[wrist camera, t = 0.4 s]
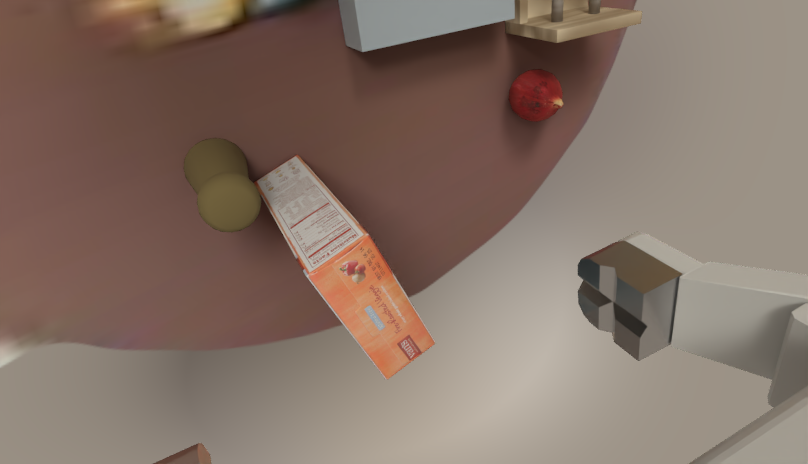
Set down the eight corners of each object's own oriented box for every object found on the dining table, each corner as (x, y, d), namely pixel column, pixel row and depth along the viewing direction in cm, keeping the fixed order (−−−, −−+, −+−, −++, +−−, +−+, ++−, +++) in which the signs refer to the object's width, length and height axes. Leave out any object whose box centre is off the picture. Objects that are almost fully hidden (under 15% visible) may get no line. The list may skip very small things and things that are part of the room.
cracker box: (359, 242, 63) (440, 345, 46) (317, 270, 62) (384, 386, 45) (299, 149, 55) (372, 233, 38) (251, 180, 54) (303, 280, 37)
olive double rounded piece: (181, 138, 49) (191, 177, 41) (247, 138, 52) (269, 174, 43) (185, 197, 52) (195, 245, 43) (247, 194, 55) (269, 239, 46)
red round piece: (495, 116, 63) (535, 134, 57) (497, 67, 61) (539, 80, 54) (534, 108, 65) (577, 125, 59) (537, 61, 63) (583, 73, 56)
